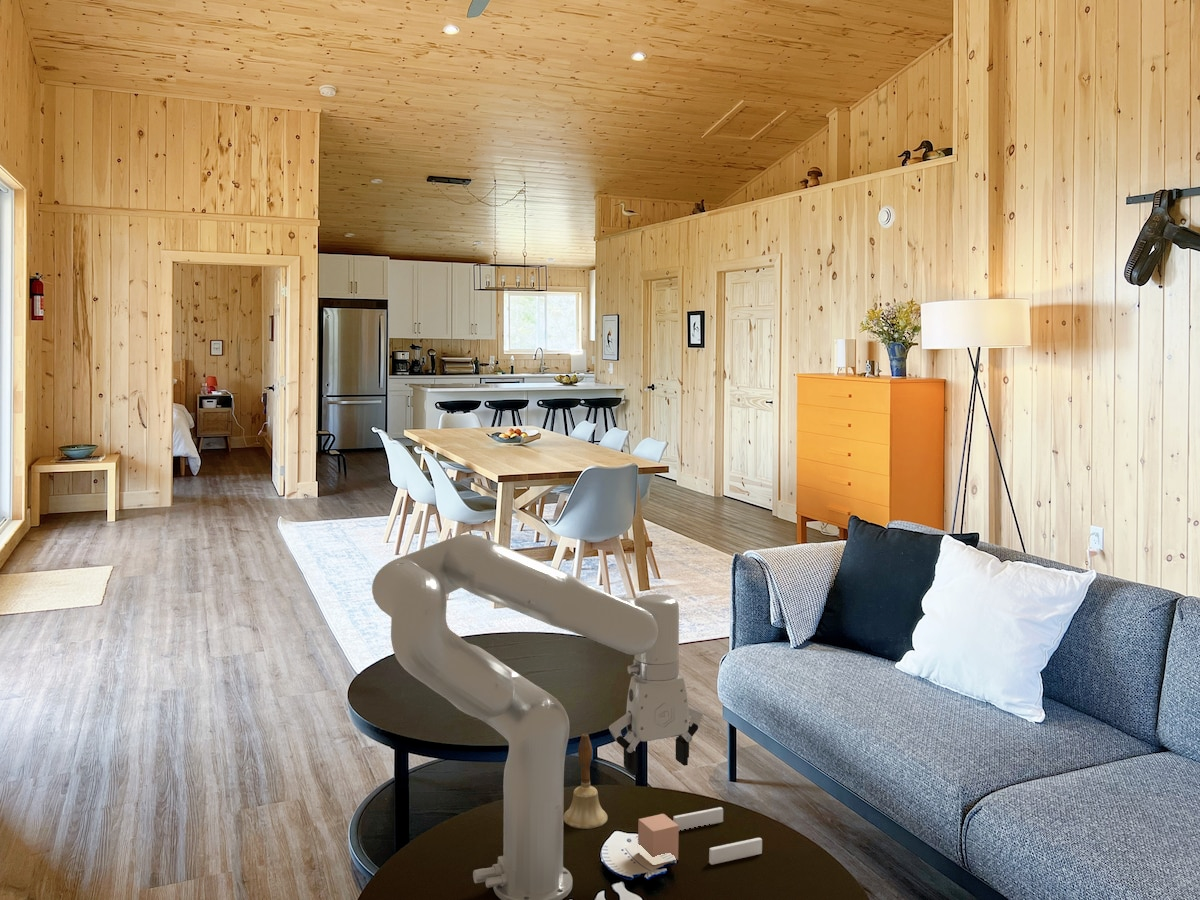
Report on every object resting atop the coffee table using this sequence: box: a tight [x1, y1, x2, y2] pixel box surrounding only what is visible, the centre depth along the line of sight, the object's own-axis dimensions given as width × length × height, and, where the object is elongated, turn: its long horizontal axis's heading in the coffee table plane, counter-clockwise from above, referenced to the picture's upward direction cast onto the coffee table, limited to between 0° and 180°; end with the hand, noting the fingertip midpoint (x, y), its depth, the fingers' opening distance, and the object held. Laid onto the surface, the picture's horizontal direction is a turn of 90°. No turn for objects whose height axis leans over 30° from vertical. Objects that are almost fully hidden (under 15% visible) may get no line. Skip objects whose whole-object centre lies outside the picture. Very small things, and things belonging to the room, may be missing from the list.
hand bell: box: [563, 733, 609, 830], centre depth 170 cm, size 8×8×16 cm
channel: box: [672, 806, 763, 866], centre depth 162 cm, size 10×14×2 cm
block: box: [637, 813, 680, 861], centre depth 156 cm, size 5×5×6 cm
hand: (656, 767), depth 157 cm, fingers open, 9 cm apart
